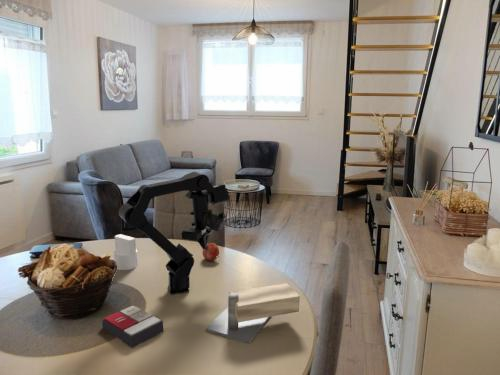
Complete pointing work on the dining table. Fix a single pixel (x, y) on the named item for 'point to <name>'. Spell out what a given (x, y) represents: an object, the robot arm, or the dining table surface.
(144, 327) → the red and grey box
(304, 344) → the dining table surface
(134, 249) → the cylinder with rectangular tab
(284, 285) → the beige wooden block
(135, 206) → the robot arm
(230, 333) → the label board
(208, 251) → the pomegranate
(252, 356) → the dining table surface
